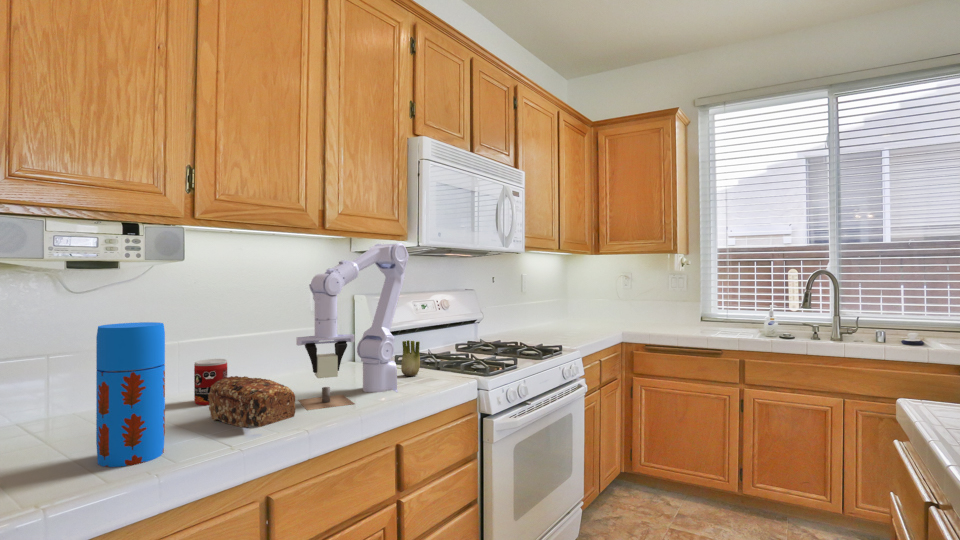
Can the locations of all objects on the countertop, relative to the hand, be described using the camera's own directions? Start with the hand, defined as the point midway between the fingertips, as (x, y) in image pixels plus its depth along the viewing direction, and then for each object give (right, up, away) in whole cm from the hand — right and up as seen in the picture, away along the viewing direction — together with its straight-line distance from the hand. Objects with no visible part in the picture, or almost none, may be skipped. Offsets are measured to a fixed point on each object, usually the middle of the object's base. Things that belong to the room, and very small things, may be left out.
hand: (326, 371), depth 137 cm
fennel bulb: (+17, -9, +39) cm, 44 cm away
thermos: (-26, -9, -38) cm, 47 cm away
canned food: (-33, -9, +5) cm, 34 cm away
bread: (-13, -9, -13) cm, 21 cm away
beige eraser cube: (0, -1, 0) cm, 1 cm away
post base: (0, -9, 0) cm, 9 cm away
